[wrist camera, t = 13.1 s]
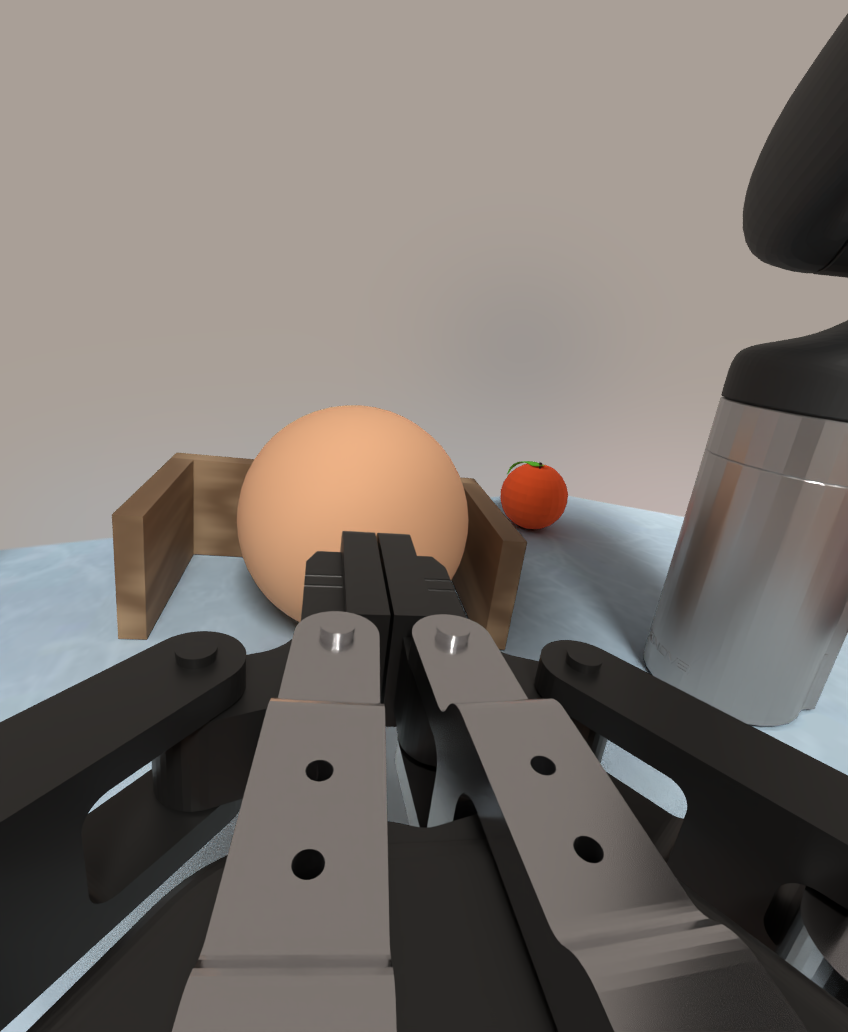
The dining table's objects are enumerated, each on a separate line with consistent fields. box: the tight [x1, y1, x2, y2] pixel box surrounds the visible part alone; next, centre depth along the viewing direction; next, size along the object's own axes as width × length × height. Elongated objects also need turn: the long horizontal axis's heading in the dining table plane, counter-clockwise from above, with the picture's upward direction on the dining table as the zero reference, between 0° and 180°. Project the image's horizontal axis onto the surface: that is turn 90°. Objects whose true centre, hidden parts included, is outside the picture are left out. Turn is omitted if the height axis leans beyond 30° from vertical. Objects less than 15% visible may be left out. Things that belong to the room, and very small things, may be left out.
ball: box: [237, 406, 468, 622], centre depth 35 cm, size 14×14×14 cm
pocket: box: [112, 453, 527, 650], centre depth 39 cm, size 23×14×8 cm, turn 99°
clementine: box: [501, 461, 568, 529], centre depth 59 cm, size 8×7×7 cm
